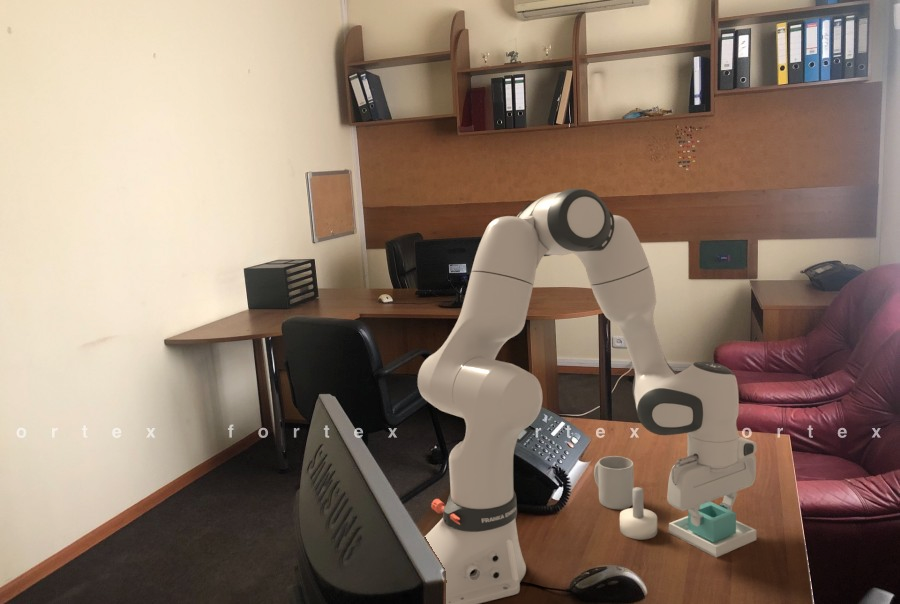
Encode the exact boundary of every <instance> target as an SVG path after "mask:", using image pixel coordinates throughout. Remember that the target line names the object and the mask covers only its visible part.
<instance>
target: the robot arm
mask: <svg viewBox="0 0 900 604" xmlns="http://www.w3.org/2000/svg"><path fill="white" fill-rule="evenodd" d="M569 254H574V255H575V256H577V258H578V259H579V260H580V261H581V263H582V264H583V266H584V269H585V271H586V274H587V279H588V282H589V284H590V288H591V289H592V292H593V296H594V298H595V300H596V302H597V304H598V306H599V308H600V310H601V312H602V313H603V314H604V315H603V316H605V318H606V319H608V321H610V322H611V323H613V324H614V325H615V327H617V328H618V330H619V331H620V333H621V335H622V337H623V339H624V343H625V346H626V349H627V353H628V354H629V357H630V360H631V363H632V367H633V372H634V376H633V381H632V383H633V384H632V395H633V399H634V403H635V408H636V412H637V418H638V420H639V422H640V423H641V425H642V427H644V429H646V430H647V431H649V432H651V433H652V434H655V435H658V436H674V435H681V434H683V435H684V434H686V435H687V437H686V438H687V439H686V442H687V444H686V445H687V446H686V447H687V448H686V450H687V456H686V457H682V458H679V459H677V460H676V462H675V464H674V465H673V466H672V467H671V470H670V473H669V475H668V476H669V477H668V484H667V485H668V486H667V494H666V495H667V496H666V499H667V503H668V504H669V505H670V506H671V507H673V508H675V509H677V510H679V511H681V512H686V511H687V512H688V511H689V513H690V515H691V523H692V524H693V525H695V526H700V525H702V524H704V521H703V520H704V516H702V515H700V514H699V512H698V510H700V505H702V504H704V503H707V502H712V501H715V500H718V499H720V498H722V499H723V500H722V501H721V503H719V506H721V507H724V508H726V509H728V510H730V511H732V512H733V505H734V504H735V501H736V498H737V497H738V491H741V490H744V489H746V488H749V487H751V486H753V485H754V483H755V480H756V474H757V458H756V455H755V453H756V452H757V447H758V446H757V442H755V441H753V440H751V439H748V438H745V437H742V436H740V435H739V431H738V427H737V419H738V417H739V411H740V409H739V407H740V405H739V403H740V402H739V400H740V399H739V387H738V386H739V385H738V381H737V377H736V375H735V373H733V371H732V370H731V369H729V368H728V367H726V366H724V365H722V364H720V363H716V362H712V361H696V362H693V363H692V364H691V365H690V366H688V367H687V368H686V369H684V370H682V371H680V372H678V373H677V371H675V369H673V368H672V367H671V366H670V364H669V363H668V361H667V359H666V357H665V355H664V352H663V349H662V346H661V342H660V340H659V337H658V333H657V331H656V326H655V321H654V319H655V318H654V312H655V308H656V305H657V296H656V295H657V294H656V286H655V282H654V281H655V280H654V278H653V272H652V270H651V269H652V268H651V266H650V263H649V261H648V258H647V255H646V252H645V251H644V248H643V246H642V244H641V241H640V239H639V237H638V236H637V234H636V232H635V230H634V228H633V226H632V224H631V223H630V221H629V220H628V219H627V218H625V217H623V216H621V215H616V214H613V213H612V212H611V211H610V210H609V209H608V207H607V205H606V203H605V202H604V201H603V200H602V198H601V197H600V196H599V195H597V194H596V193H595V192H593V191H591V190H588V189H586V188H585V189H583V188H569V189H565V190H563V191H560V192H552V193H548V194H547V195H545V196H541V197H540V198H538V199H536V200H533V201H530V203H528V204H527V205H526V206H524V207H523V209H522V210H521V211H520V212H519V213H518V214H517V215H516V216H514V215H512V216H511V215H506V216H500V217H497V218H494V219H492V221H491V222H489V224H488V225H487V227H486V228H485V231H484V233H483V235H482V237H481V240H480V242H479V244H478V247H477V250H476V253H475V256H474V261H473V264H472V268H471V271H470V275H469V280H468V284H467V288H466V291H465V295H464V299H463V303H462V306H461V310H460V313H459V316H458V319H457V321H456V323H455V324H454V327H453V328H452V329H451V332H450V334H449V335H448V336H447V339H446V340H445V341H444V343H443V344H442V346H441V347H439V348H438V349H437V351H435V352H434V353H432V354H431V355H429V356H428V357H426V359H425V360H424V361H423V362H422V364H421V366H420V368H419V370H418V374H417V387H418V390H419V391H418V392H419V393H420V395H421V397H422V399H424V400H425V401H426V402H428V403H429V404H430V405H432V406H433V407H434V408H437V409H438V410H439V411H441V412H444V413H445V414H450V415H453V416H456V417H459V418H462V419H464V423H465V434H464V435H465V436H464V438H463V440H462V441H460V442H459V443H458V444H456V445H454V447H453V448H452V449H451V451H450V453H449V457H448V466H449V467H448V468H449V469H448V471H449V483H450V486H449V487H450V493H449V495H448V497H447V501H446V504H445V503H444V502H443V501H442V500H440V498H435V499H434V500H433V501H432V502H431V506H430V507H431V509H432V510H434V511H435V512H436V513H437V514H442V518H441V519H440V520H439V521H438V522H437V524H435V526H433V528H431V530H430V531H428V533H427V534H426V535H424V537H426V539H427V541H428V542H429V544H430V546H431V547H432V549H433V551H434V552H435V554H436V555H437V557H438V558H439V560H440V562H441V563H442V565H443V567H444V568H445V571H446V580H447V583H446V604H482V603H487V602H491V601H494V600H498V599H503V598H506V597H510V596H514V595H518V594H519V593H520V590H521V584H520V583H521V582H522V580H523V579H524V577H525V575H526V572H527V566H526V563H525V560H524V557H523V555H522V551H521V547H520V542H519V536H518V530H517V529H518V528H517V522H516V519H517V517H518V515H517V514H518V507H517V506H518V505H517V495H516V492H515V490H514V454H515V453H514V452H515V448H516V445H517V441H518V438H519V437H520V435H521V433H522V432H523V431H524V430H526V429H527V428H528V427H529V426H531V425H532V424H533V422H534V421H536V419H537V418H538V416H539V414H540V412H541V409H542V405H543V390H542V387H541V386H542V385H541V383H540V381H539V379H538V378H537V377H536V376H535V375H534V374H532V373H531V372H529V371H527V370H525V369H523V368H521V367H520V366H518V365H515V364H514V363H510V362H505V361H501V360H498V359H497V360H496V358H497V356H498V354H499V352H500V350H501V349H502V347H503V345H504V344H506V342H508V340H510V339H511V338H515V336H517V335H519V334H520V333H521V332H522V331H523V329H524V327H525V324H526V320H527V315H528V310H529V306H530V302H531V297H532V293H533V288H534V284H535V280H536V279H535V278H536V275H537V274H536V272H537V268H538V266H539V264H540V262H541V260H542V259H543V258H544V257H550V256H566V255H569Z"/></svg>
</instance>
